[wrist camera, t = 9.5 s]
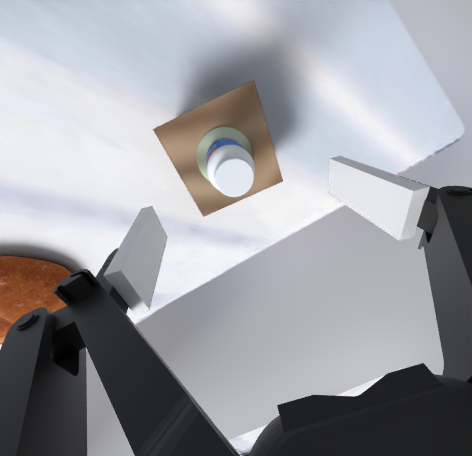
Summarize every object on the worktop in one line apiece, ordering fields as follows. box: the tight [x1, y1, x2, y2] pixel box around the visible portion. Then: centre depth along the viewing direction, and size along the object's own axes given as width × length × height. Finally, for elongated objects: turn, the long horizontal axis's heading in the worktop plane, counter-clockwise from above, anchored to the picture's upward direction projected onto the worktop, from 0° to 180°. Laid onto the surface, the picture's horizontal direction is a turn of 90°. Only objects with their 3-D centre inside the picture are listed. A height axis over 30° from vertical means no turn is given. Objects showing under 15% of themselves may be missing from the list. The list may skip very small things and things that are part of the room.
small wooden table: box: [153, 80, 283, 217], centre depth 32 cm, size 14×14×9 cm
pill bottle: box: [206, 138, 255, 197], centre depth 24 cm, size 6×5×10 cm
